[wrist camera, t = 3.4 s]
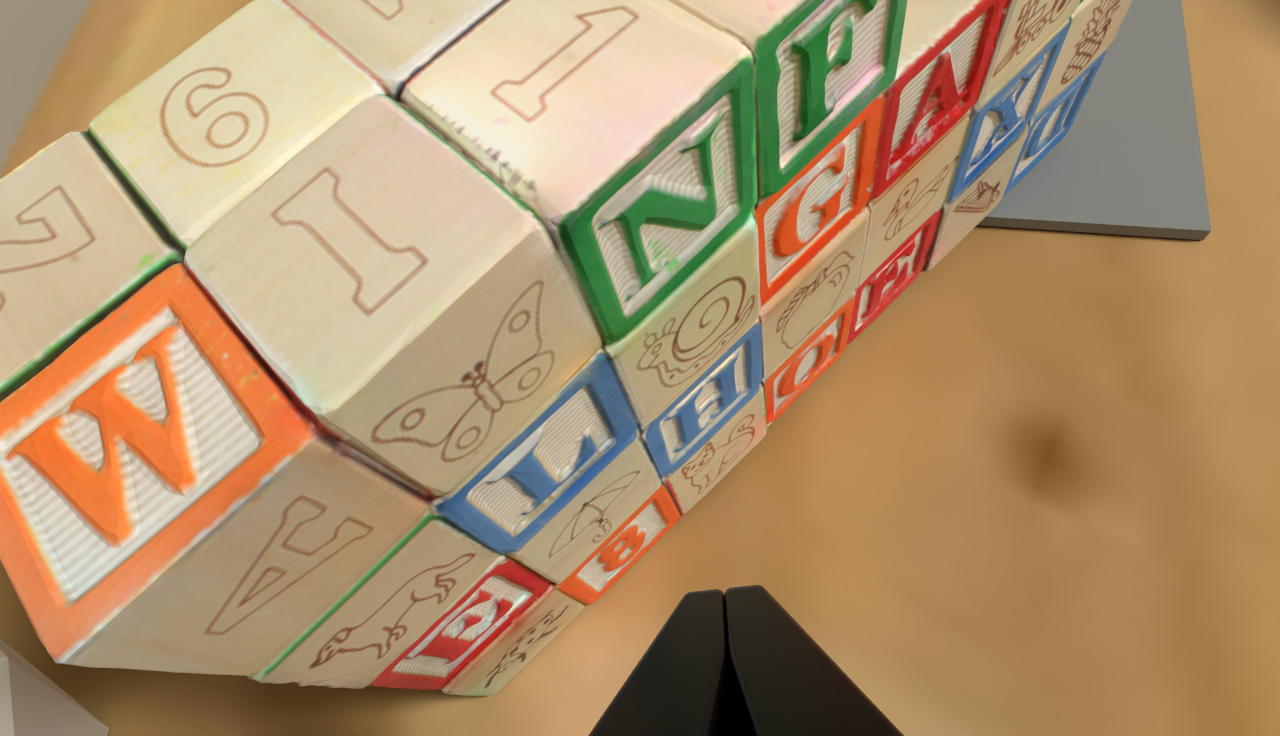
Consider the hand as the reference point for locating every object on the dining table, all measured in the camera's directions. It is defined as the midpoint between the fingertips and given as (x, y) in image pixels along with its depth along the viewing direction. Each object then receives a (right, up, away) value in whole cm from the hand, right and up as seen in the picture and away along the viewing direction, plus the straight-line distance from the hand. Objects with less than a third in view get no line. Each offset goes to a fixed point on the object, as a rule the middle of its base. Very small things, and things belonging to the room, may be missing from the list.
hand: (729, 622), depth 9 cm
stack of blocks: (+1, +4, +13) cm, 13 cm away
